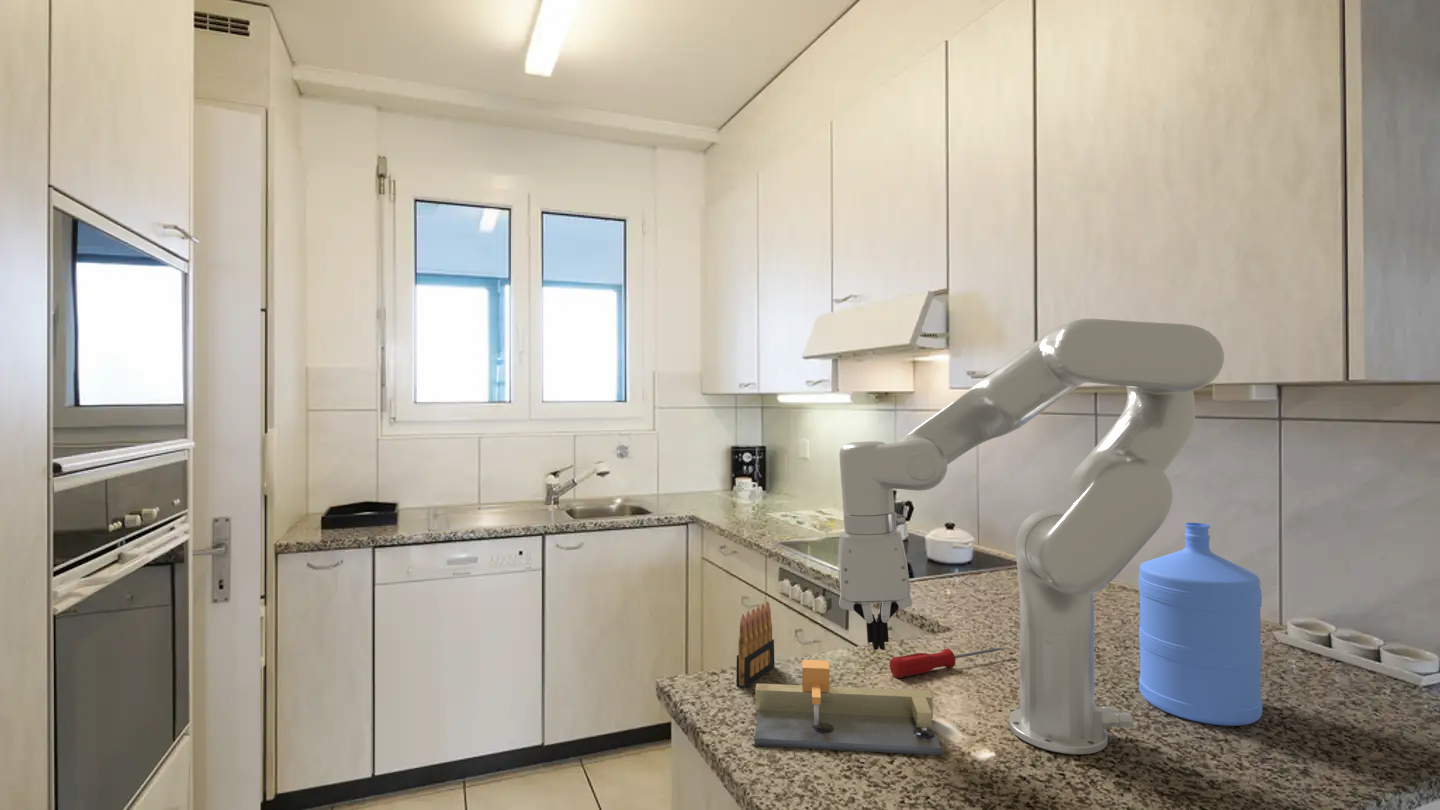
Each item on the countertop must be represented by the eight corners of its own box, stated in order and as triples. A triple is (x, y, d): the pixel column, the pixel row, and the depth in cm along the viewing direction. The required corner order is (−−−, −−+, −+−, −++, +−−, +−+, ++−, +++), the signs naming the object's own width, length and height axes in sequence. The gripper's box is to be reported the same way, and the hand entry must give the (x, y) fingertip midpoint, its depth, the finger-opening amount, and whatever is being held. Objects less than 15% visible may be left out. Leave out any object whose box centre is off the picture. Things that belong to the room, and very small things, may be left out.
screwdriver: (1013, 660, 125) (1013, 641, 125) (900, 682, 116) (899, 661, 116) (999, 653, 128) (999, 635, 128) (887, 674, 119) (887, 654, 119)
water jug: (1283, 735, 96) (1282, 536, 96) (1155, 720, 101) (1154, 531, 101) (1237, 690, 111) (1236, 518, 111) (1127, 679, 116) (1126, 514, 116)
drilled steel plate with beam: (926, 709, 105) (926, 683, 105) (944, 755, 92) (944, 725, 92) (757, 701, 109) (757, 676, 109) (750, 745, 95) (750, 716, 95)
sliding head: (828, 702, 105) (828, 660, 105) (830, 727, 97) (830, 682, 97) (802, 701, 105) (802, 659, 105) (802, 726, 97) (802, 681, 97)
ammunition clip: (765, 665, 124) (765, 599, 124) (774, 667, 123) (774, 600, 123) (736, 686, 115) (735, 614, 115) (745, 688, 114) (745, 616, 114)
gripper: (916, 517, 105) (925, 637, 105) (818, 522, 107) (827, 639, 107) (925, 526, 98) (934, 654, 98) (819, 531, 100) (828, 657, 99)
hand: (878, 646), depth 102 cm, fingers closed
